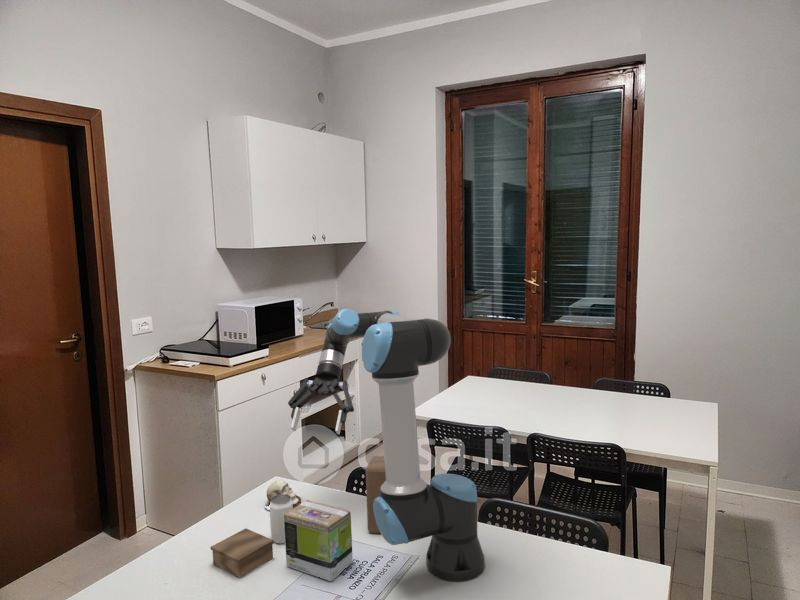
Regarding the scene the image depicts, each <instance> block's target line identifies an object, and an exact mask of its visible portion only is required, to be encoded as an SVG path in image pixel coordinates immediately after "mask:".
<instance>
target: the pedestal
mask: <svg viewBox="0 0 800 600" xmlns="http://www.w3.org/2000/svg"><path fill="white" fill-rule="evenodd" d="M274 544H275V543H274V540H272V539H271V537H267V536H265V535H262V534H260V533H258V532H255V531H253V530H250V529H248V528H243V529H241V530H240V531H238V532H236V533H234V534H232V535H230V536H229V537H227V538H225V539H223V540H221V541H219V542H217V543H216V544H214V545H211V546H210V550H211V552H212V562H213V563H212V564H213V566H216V567H217V568H220V569H221V570H223V571H225V572H227V573H229V574H231V575H233V576H235V577H236V578H239V579H241V578H242V577H244V576H246V575H248V574H250V573H251V572H253V571H254V570H256V569H258V568H259V567H261V566H262V565H264V564H266V563H267V562H269V561H271V560H272V559H274V551H273V550H274V547H273V545H274Z"/></svg>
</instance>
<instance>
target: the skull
mask: <svg viewBox="0 0 800 600" xmlns="http://www.w3.org/2000/svg"><path fill="white" fill-rule="evenodd" d="M280 494H286V495H289V496H290V497H291V500H292V503H293V508H295V507H297V506H298V505H300V504H301V501H302V498H301V497H300V496H299V495H296V493H295V492H294V491H293V488H292V487H291V486H290V485H289V483H288V482H287V481H284V480H283V479H282V480H281V479H278V480H275V481H273V482H272V483H271V484H269V486H268V487H267V489H266V498H267V501H268V503H271V498H272V497H274V496H276V495H280ZM268 512H270V510H269V511H268Z"/></svg>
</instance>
